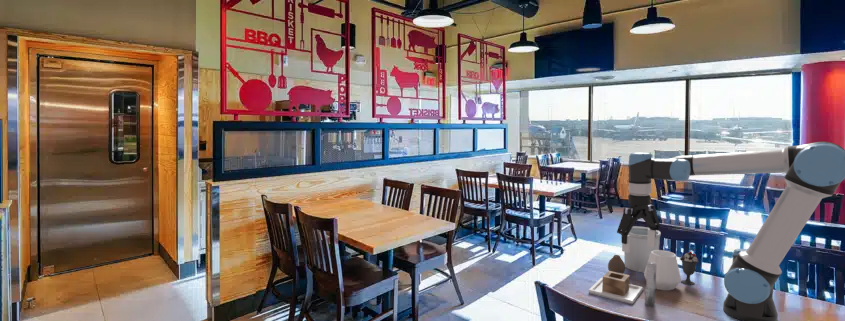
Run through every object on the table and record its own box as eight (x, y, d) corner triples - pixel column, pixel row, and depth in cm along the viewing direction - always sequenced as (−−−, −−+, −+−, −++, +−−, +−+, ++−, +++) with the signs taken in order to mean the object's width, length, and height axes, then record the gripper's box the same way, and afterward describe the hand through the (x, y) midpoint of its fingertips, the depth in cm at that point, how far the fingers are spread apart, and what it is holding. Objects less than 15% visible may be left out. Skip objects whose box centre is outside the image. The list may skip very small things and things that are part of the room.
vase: (604, 273, 187) (604, 254, 186) (615, 270, 190) (615, 252, 189) (617, 278, 181) (617, 259, 180) (628, 276, 184) (629, 256, 183)
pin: (655, 304, 156) (657, 263, 155) (653, 307, 154) (655, 265, 152) (645, 301, 158) (648, 261, 157) (643, 304, 156) (646, 263, 154)
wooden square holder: (629, 289, 168) (629, 275, 167) (623, 296, 162) (624, 281, 161) (608, 284, 173) (608, 270, 172) (602, 291, 167) (602, 276, 166)
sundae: (701, 284, 174) (703, 249, 172) (690, 287, 171) (692, 251, 170) (686, 278, 180) (688, 245, 178) (675, 281, 177) (677, 247, 176)
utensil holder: (645, 275, 184) (647, 237, 182) (615, 265, 197) (617, 229, 195) (665, 269, 191) (667, 232, 189) (635, 259, 204) (637, 224, 202)
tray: (642, 290, 169) (642, 286, 168) (632, 304, 156) (632, 300, 156) (601, 280, 179) (601, 277, 179) (588, 293, 167) (588, 289, 166)
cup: (636, 283, 176) (637, 251, 174) (656, 277, 182) (658, 246, 180) (667, 295, 164) (669, 261, 162) (687, 288, 170) (689, 255, 169)
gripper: (653, 189, 165) (652, 241, 167) (606, 195, 155) (606, 251, 157) (671, 192, 158) (670, 246, 160) (623, 198, 148) (623, 257, 150)
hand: (638, 249), depth 158 cm, fingers open, 13 cm apart
